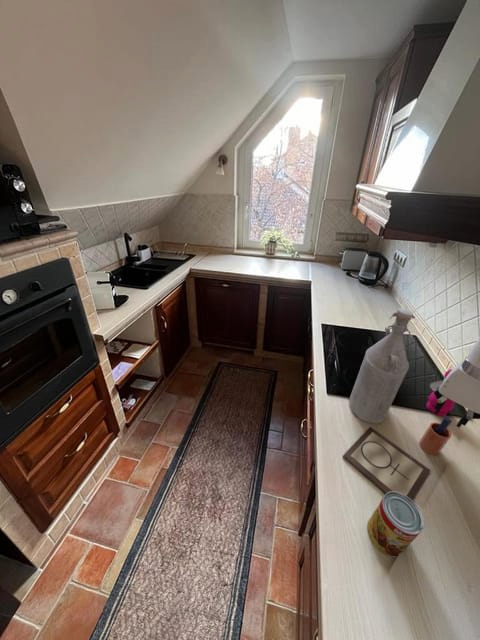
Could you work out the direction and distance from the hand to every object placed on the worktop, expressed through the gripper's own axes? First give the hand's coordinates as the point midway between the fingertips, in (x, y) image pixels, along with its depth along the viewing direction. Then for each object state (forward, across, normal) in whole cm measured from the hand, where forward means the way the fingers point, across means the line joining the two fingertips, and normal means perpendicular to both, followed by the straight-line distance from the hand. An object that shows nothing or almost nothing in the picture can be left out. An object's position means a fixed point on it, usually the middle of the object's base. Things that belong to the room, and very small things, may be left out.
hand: (448, 417), depth 72 cm
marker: (+14, 0, 0) cm, 14 cm away
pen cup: (+15, 0, 0) cm, 15 cm away
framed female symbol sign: (+15, +6, +16) cm, 22 cm away
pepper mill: (+15, +4, -19) cm, 24 cm away
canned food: (+15, -2, +33) cm, 36 cm away
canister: (+15, +20, 0) cm, 25 cm away
